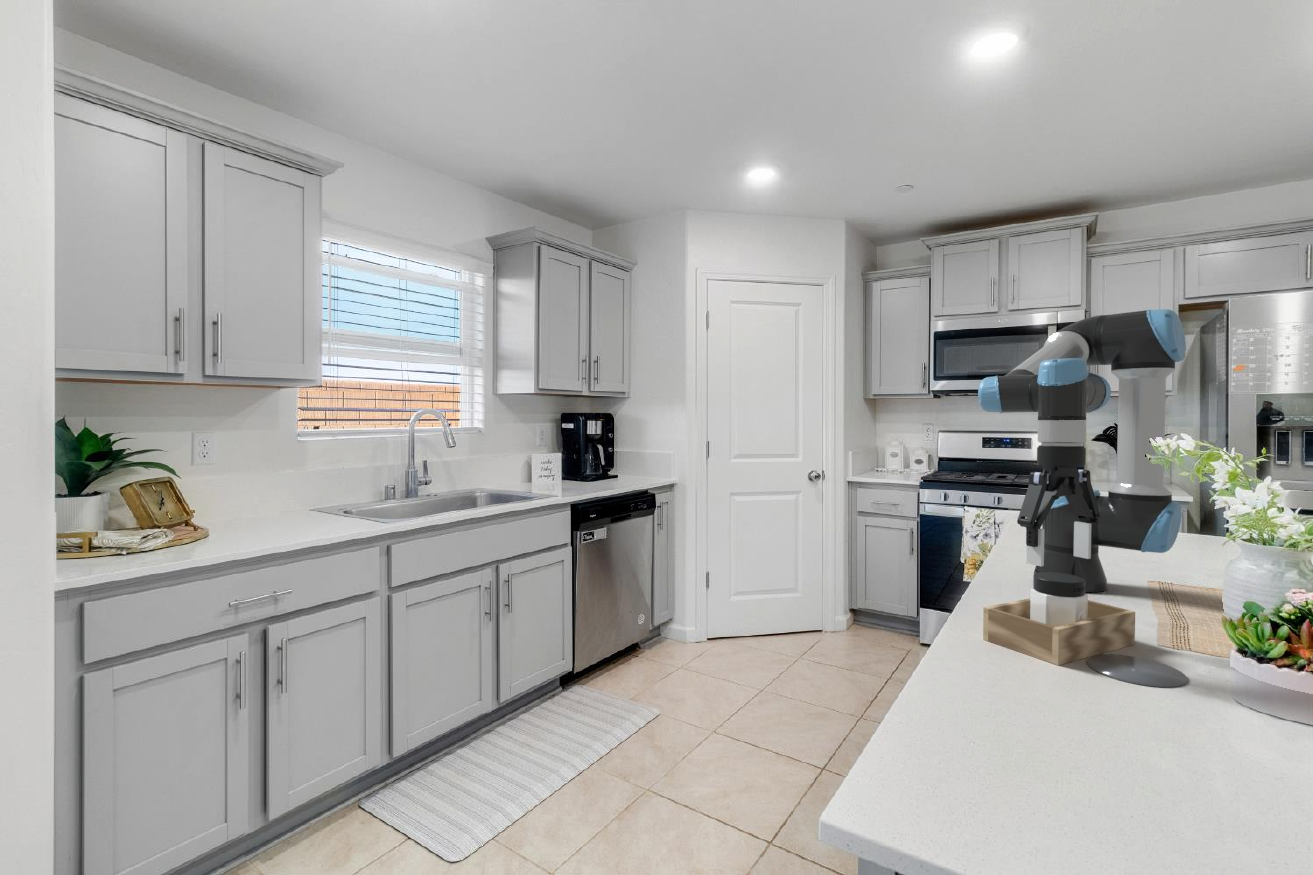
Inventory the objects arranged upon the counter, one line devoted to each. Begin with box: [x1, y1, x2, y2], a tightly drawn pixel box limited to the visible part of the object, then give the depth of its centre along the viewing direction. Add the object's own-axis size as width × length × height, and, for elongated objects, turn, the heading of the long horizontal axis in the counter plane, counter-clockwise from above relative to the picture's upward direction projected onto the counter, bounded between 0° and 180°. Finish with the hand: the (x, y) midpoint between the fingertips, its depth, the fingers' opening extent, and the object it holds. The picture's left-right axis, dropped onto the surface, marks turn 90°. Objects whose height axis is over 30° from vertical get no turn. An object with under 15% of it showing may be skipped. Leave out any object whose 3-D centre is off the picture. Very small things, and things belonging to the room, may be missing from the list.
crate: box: [982, 598, 1136, 666], centre depth 119 cm, size 22×14×6 cm, turn 116°
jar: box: [1029, 572, 1089, 627], centre depth 119 cm, size 9×8×12 cm
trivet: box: [1087, 653, 1188, 688], centre depth 106 cm, size 13×13×1 cm
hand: (1059, 561), depth 119 cm, fingers open, 13 cm apart
